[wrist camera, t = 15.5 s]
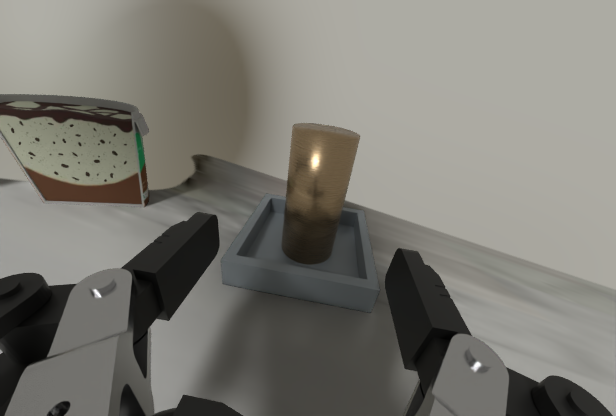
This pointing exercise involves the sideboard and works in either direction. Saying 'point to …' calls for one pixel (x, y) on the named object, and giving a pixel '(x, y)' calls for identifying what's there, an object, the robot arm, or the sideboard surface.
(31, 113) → the food container
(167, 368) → the sideboard surface
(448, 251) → the sideboard surface
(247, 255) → the tray
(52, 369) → the robot arm
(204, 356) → the sideboard surface
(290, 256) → the bronze can
